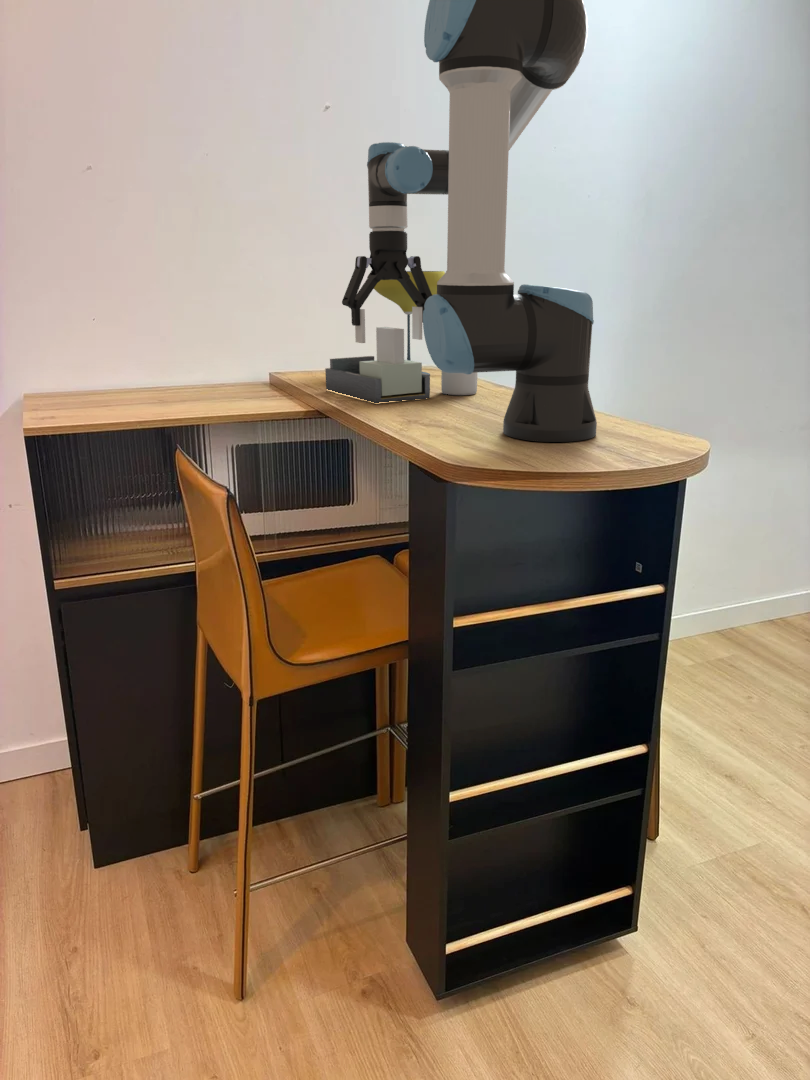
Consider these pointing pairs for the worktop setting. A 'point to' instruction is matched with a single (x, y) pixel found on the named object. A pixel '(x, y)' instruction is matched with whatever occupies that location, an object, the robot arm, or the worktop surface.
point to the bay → (365, 382)
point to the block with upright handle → (393, 364)
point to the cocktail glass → (406, 296)
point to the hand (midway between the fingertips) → (389, 341)
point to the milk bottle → (459, 383)
